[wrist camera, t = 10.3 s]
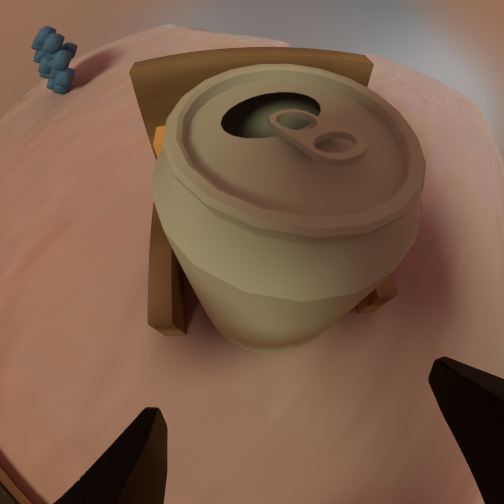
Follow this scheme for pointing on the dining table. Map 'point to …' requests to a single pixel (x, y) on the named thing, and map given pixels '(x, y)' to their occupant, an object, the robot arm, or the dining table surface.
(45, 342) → the dining table surface
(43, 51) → the grapes
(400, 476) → the dining table surface
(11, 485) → the hardcover book
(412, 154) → the can
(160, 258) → the brown wooden crate
